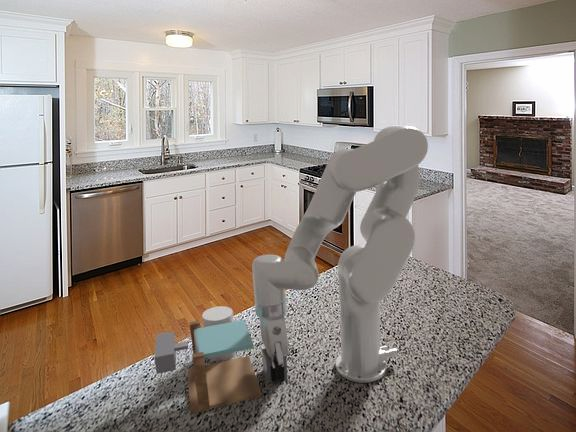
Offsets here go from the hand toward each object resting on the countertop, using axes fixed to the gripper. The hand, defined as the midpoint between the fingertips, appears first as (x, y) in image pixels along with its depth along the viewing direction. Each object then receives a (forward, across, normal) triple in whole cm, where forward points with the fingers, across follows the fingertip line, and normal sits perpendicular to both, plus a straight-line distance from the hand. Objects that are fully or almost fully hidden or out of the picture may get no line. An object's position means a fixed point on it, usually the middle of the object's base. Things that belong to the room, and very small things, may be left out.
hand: (275, 372), depth 94 cm
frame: (+1, +1, +13) cm, 13 cm away
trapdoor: (-9, +1, +16) cm, 19 cm away
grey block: (+1, 0, 0) cm, 1 cm away
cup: (+1, +14, +12) cm, 18 cm away
